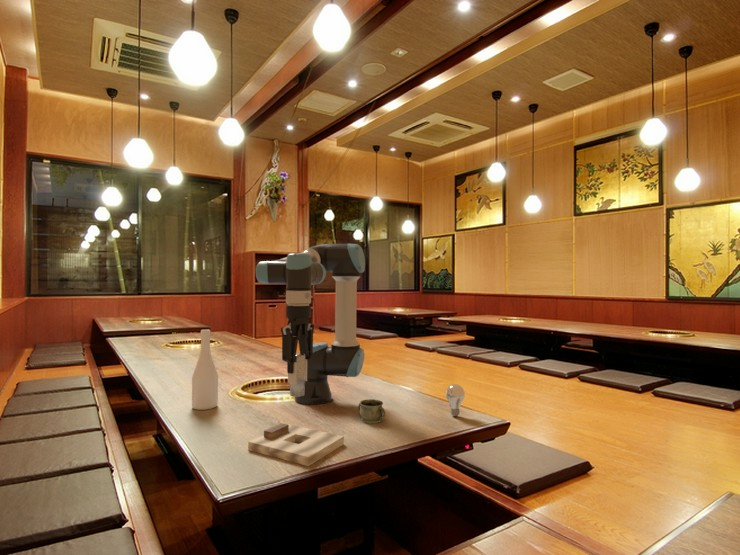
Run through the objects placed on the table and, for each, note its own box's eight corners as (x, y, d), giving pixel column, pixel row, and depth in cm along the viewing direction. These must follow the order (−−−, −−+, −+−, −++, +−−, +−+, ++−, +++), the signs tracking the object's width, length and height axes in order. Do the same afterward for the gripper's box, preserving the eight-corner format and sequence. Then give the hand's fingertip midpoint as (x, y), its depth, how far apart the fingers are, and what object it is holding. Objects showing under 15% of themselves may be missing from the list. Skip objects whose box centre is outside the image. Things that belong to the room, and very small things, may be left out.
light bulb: (453, 420, 161) (453, 387, 161) (441, 415, 167) (442, 383, 167) (468, 417, 164) (468, 385, 164) (456, 412, 170) (456, 381, 170)
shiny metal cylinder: (287, 395, 133) (287, 355, 133) (296, 392, 137) (296, 353, 137) (298, 397, 131) (299, 356, 131) (307, 394, 135) (308, 354, 135)
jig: (248, 450, 132) (248, 434, 132) (287, 431, 148) (287, 418, 148) (308, 466, 121) (308, 449, 121) (343, 444, 137) (343, 429, 137)
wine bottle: (187, 406, 173) (188, 329, 173) (210, 401, 180) (211, 327, 180) (198, 412, 167) (199, 332, 167) (222, 406, 174) (223, 330, 174)
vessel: (350, 419, 161) (350, 402, 161) (365, 413, 168) (365, 396, 168) (377, 426, 154) (378, 408, 154) (391, 420, 161) (392, 402, 161)
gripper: (289, 306, 125) (288, 390, 125) (325, 303, 140) (324, 378, 140) (269, 305, 128) (268, 386, 128) (306, 303, 144) (305, 375, 144)
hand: (297, 382), depth 134 cm, fingers closed on shiny metal cylinder, 4 cm apart
